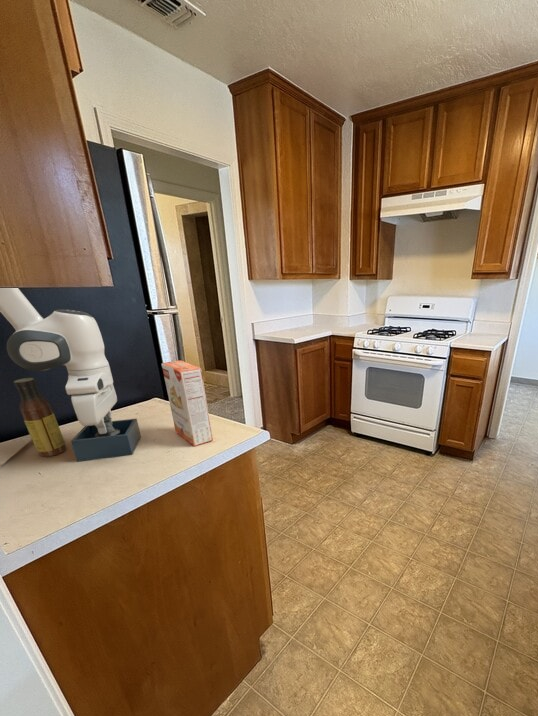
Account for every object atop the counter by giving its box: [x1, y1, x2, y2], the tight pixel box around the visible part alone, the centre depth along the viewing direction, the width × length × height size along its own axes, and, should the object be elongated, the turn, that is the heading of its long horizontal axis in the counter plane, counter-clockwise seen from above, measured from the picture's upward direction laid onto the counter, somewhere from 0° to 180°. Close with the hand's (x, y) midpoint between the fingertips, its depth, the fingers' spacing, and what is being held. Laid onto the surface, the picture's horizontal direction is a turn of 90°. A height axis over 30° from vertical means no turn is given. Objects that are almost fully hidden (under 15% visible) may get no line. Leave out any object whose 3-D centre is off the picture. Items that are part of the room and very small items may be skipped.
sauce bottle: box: [13, 377, 67, 457], centre depth 89 cm, size 6×6×20 cm
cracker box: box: [161, 359, 214, 447], centre depth 97 cm, size 14×6×21 cm, turn 41°
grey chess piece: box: [95, 413, 120, 437], centre depth 93 cm, size 6×6×12 cm
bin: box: [70, 418, 142, 463], centre depth 94 cm, size 13×13×6 cm
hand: (106, 429), depth 93 cm, fingers closed on grey chess piece, 3 cm apart
